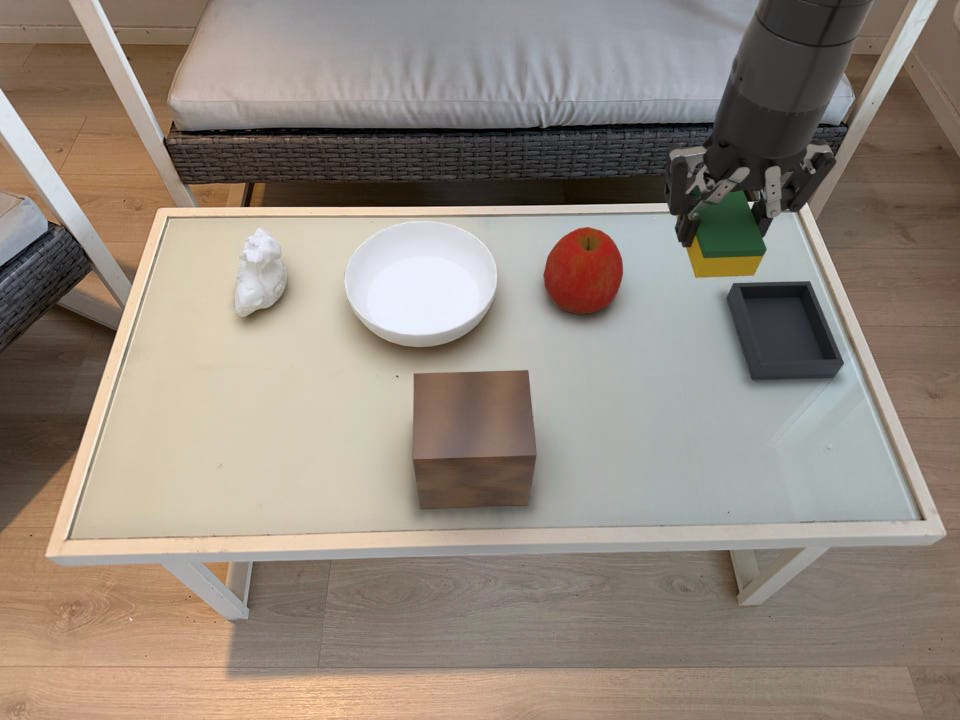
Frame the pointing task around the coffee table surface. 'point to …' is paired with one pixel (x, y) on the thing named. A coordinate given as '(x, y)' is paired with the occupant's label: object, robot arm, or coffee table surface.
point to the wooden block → (473, 439)
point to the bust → (259, 274)
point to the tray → (783, 330)
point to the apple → (583, 271)
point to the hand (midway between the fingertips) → (716, 239)
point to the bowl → (421, 283)
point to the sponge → (727, 240)
